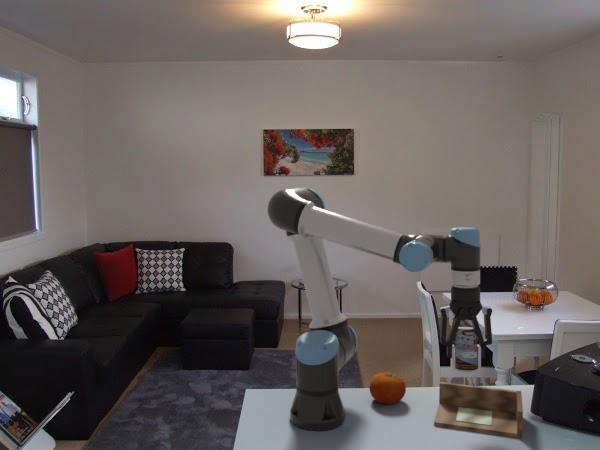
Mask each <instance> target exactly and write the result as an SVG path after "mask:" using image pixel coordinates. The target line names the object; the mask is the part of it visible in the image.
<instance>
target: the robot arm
mask: <svg viewBox="0 0 600 450" xmlns="http://www.w3.org/2000/svg"><path fill="white" fill-rule="evenodd" d="M267 214H268V217H269V221H270V222H271V223H272V224H273V225H274V226H275V227H277V229H279V230H282V231H285V233H286V237H287V239H289V240H291V241H292V242H293V245H294V249H295V253H296V258H297V262H298V265H299V270H300V274H301V277H302V281H303V285H304V289H305V294H306V298H307V302H308V306H309V311H310V314H311V321H310V324H308V328H309V331H306V332H304V333H302V334H301V335H300V336H299V337H298V338H297V340H296V344H295V350H294V355H295V382H296V383H295V384H296V385H295V386H296V388H295V389H296V390H295V391H296V392H295V395H294V398H293V401H292V403H291V407H290V411H289V413H290V414H289V417H290V418H289V419H290V422H291V423H292V424H293V425H294V426H296V427H297V428H299V429H303V430H310V431H327V430H333V429H335V428H338V427H340V426H341V425H343V424H344V422H345V420H346V419H345V417H346V415H345V414H346V413H345V408H344V407H345V406H344V405H343V401H342V398H341V396H340V395H341V394H340V392H339V371H340V370H341V369H342V368H343V366H345V365H346V364H347V363H348V362H350V361H351V359H353V357H354V355H355V353H356V352H357V349H358V344H359V343H358V335H357V333H356V331H355V330H354V328H353V327H352V326H351V325H350V324H349V321H348V320H349V319H348V317H347V315H345V314H343V313H342V312H341V309H340V304H339V300H338V298H337V293H336V289H335V285H334V281H333V277H332V272H331V268H330V265H329V260H328V257H327V252H326V248H325V247H326V246H325V244H324V240H326V241H329V242H331V243H335V244H338V245H341V246H344V247H346V248H350V249H353V250H356V251H359V252H361V253H365V254H368V255H371V256H374V257H377V258H380V259H383V260H386V261H390V262H392V263H394V264H397V265H400V266H402V267H403V268H404V269H405V270H406V271H408V272H410V273H419V272H422V271H425V270H426V269H428V268H429V267H430V266H431V264H433V263H445V264H447V263H448V264H450V283H451V286H450V303H449V304H448V305H447V306H440V307H439V313H440V328H439V342H440V344H441V345H442V346H446V356H447V358H448V359H450V369H451V371H452V372H456V369H455V347H454V339H455V336H456V333H457V330H458V327H460V324H461V322H462V321H465V320H466V321H471V324H472V326H473V328H474V330H475V331H476V334H477V343H478V344H477V358H478V369H477V372H481V371H482V359H485V358H486V353H485V352H486V347H487V346H491V345H492V344H493V334H492V317H491V316H492V314H493V308H491V307H490V306H485V305H483V304H482V303H481V302H482V301H481V287H480V286H479V285H481V235H480V234H481V232H480V230H479V229H478V228H476V227H471V226H462V227H461V226H458V227H453V228H451V229H450V233H449V234H421V233H416V234H408V235H405V234H404V233H403V234H402V233H400V232H398V231H397V232H396V231H393V230H390V229H388V228H385V227H384V228H383V227H381V226H378V225H374V224H372V223H371V224H370V223H367V222H364V221H361V220H358V219H355V218H352V217H349V216H345V215H343V214H339V213H337V212H334V211H330V210H326V206H325V202H324V199H323V197H322V196H321V195H320V193H318V191H316V190H314V189H311V188H307V187H295V188H284V189H279V190H278V191H277V192H276V193H274V194H273V195H272V196H271V197H270V199H269V201H268V204H267ZM450 311H451V312H452V313H453V315H454V316H453V319H452V320H453V321H452V324H451V326H450V330H449V331H448V333H449V334H448V336H447V328H448V327H447V325H448V315H449V314H450ZM480 312H482V314H483V325H484V336H485V337H483V333H482V331H481V330H482V329H481V328H480V325H479V321H478V317H477V316H478V314H479V313H480Z"/></svg>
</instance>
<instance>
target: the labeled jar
mask: <svg viewBox="0 0 600 450" xmlns="http://www.w3.org/2000/svg"><path fill="white" fill-rule="evenodd" d="M453 345H454V347H455V370H456V371H457V372H460V373H461V372H462V373H474V372H475V371H476V370H477V369H478V358H477V345H478V339H477V334H476V331H475V330H474V327H471V326H459V327H458V330H457V333H456V336H455V339H454V342H453ZM477 371H478V370H477Z"/></svg>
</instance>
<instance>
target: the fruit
mask: <svg viewBox="0 0 600 450" xmlns="http://www.w3.org/2000/svg"><path fill="white" fill-rule="evenodd" d="M406 387H407V386H406V383H405V381H404V379H402V377H400V376H399V375H397V374H395V373H393V372H380V373H377V374H375V375H373V377H372V378H371V380H370V382H369V392H370V396H371V397H372V398H373V399H374V400H375V401H377V402H378V403H381V404H386V405H387V404H388V405H391V404H392V405H393V404H395V403H398V402H400V401H401V400H402V399H403V398H404V396H405V395H406V391H407V390H406V389H407V388H406Z"/></svg>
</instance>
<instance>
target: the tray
mask: <svg viewBox="0 0 600 450" xmlns="http://www.w3.org/2000/svg"><path fill="white" fill-rule="evenodd" d="M438 390H439V394H438V397H439V399H438V402H439V403H438V406H437V411H436V414H435V418H434V422H433V425H434V427H435V426H436V427H442V428H449V429H454V430H462V431H467V432H469V431H470V432H477V433H483V434H489V435H498V436H502V437H503V436H505V437H512V438H519V439H523V426H524V425H523V424H524V423H523V422H524V421H523V420H524V419H523V417H524V415H523V414H524V408H523V395H522V391H520V390H514V389H513V390H511V389H504V388H495V387H487V386H480V385H479V386H478V385H470V384H463V383H461V384H460V383H453V382H444V381H440V382H439V389H438Z"/></svg>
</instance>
